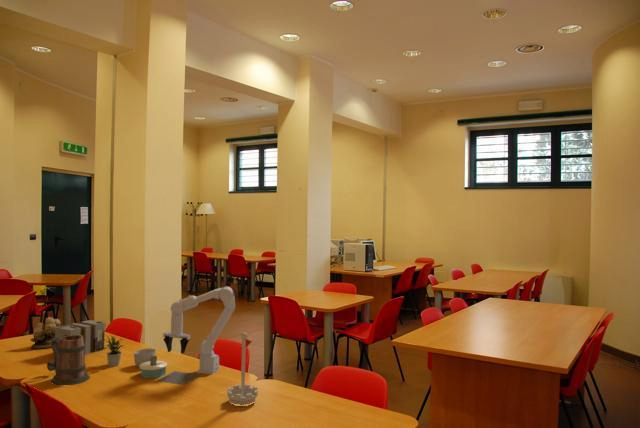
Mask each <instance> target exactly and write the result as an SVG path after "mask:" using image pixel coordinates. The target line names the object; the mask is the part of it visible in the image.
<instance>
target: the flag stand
mask: <svg viewBox="0 0 640 428" xmlns="http://www.w3.org/2000/svg"><path fill="white" fill-rule="evenodd" d="M240 338H241V339H242V340H241V341H242V342H241V343H242V344H241V371H240V372H241V373H240V374H241V376H240V378H241V379H240V384H234V385H233V387H231V386H230V387H228V388H227V393H226V394H227V395H226V396H227V398H228V399H229V403H230V402H231V403H234V404H240V405H244V404H245V405H246V404H250V403H252V402H254V401H255V402H256V398H257V397H258V395H259V390H258V387H257V386H256V385H254V386H252V387H251V384H245V383H246V381H245V379H246V352H247V351H246V348H247V347H248V346H249V345H250V344H251V343H252V341H251V340H249V339H247V338H248V333H247V332H245V331H243V332H241V333H240Z"/></svg>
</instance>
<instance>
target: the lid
mask: <svg viewBox="0 0 640 428" xmlns="http://www.w3.org/2000/svg"><path fill="white" fill-rule="evenodd" d="M157 359H158V357H157V355H156V356H151V357H150V361H148V362H144V363H142V364H140V365H139V367H138V368H139V369H140V370H141V369H143V370H158V369H162V368H165V367H166V368H167V366H168V363H167V362H166V361H163V360H157Z"/></svg>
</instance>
